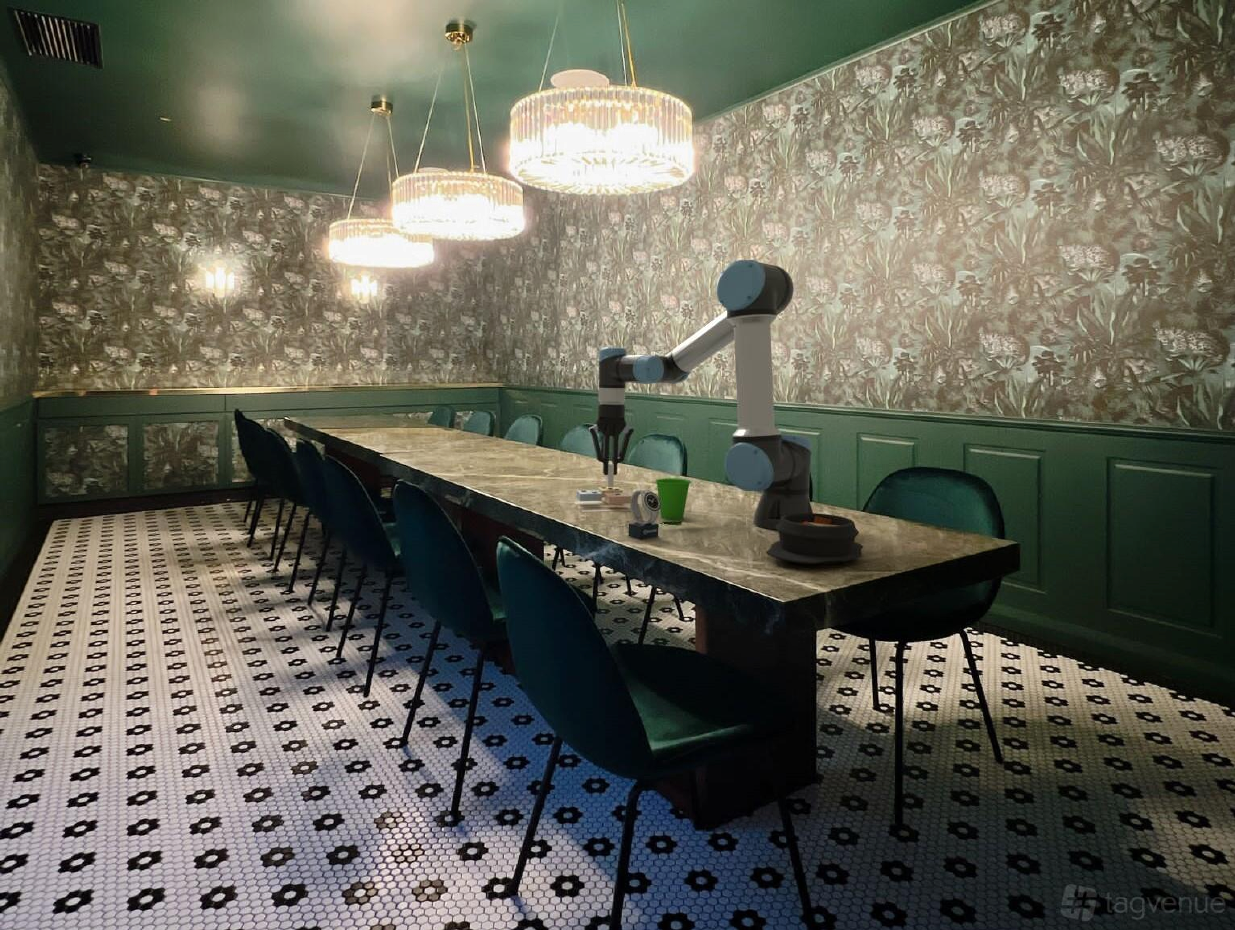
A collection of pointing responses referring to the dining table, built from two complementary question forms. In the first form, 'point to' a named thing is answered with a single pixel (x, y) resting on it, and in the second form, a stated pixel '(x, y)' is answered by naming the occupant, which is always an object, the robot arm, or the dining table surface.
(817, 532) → the casserole
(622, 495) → the tile one
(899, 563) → the dining table surface
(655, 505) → the watch
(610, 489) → the tile three
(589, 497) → the tile two
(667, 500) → the cup
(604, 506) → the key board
